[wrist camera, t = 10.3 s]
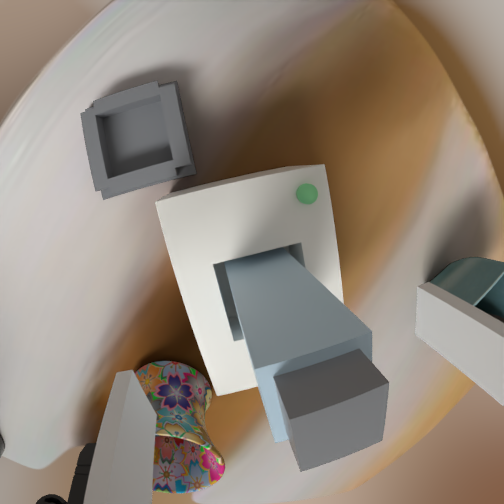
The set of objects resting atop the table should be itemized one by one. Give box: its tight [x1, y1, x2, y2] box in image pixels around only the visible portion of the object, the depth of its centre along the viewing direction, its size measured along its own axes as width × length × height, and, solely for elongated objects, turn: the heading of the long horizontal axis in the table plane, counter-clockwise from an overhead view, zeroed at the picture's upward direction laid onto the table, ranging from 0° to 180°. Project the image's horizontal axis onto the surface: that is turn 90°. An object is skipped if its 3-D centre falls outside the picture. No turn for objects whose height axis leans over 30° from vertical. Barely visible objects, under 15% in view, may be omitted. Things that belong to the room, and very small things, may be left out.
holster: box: [81, 81, 197, 200], centre depth 21 cm, size 8×8×2 cm
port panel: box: [155, 164, 344, 396], centre depth 22 cm, size 10×14×8 cm
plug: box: [224, 247, 389, 472], centre depth 15 cm, size 4×4×15 cm
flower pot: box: [430, 257, 504, 318], centre depth 27 cm, size 9×9×9 cm
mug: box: [135, 361, 225, 493], centre depth 24 cm, size 12×9×11 cm
